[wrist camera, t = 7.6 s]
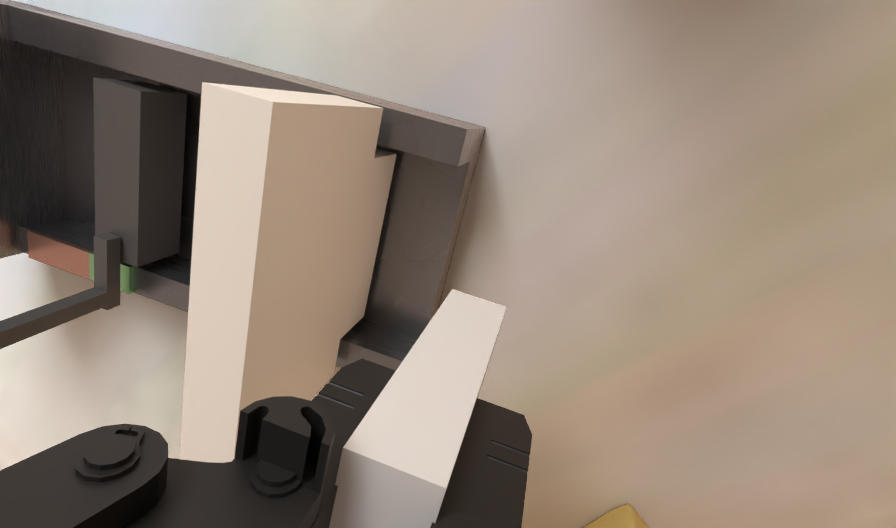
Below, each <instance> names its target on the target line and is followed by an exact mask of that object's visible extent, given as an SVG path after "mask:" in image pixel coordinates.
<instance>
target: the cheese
mask: <svg viewBox="0 0 896 528" xmlns="http://www.w3.org/2000/svg"><path fill="white" fill-rule="evenodd" d="M584 528H648V527H647V525H646V524H645V523H644V521H643V520H642V519H641V517H640V516H639V515H638V513H637V512H636V511H635V510H634V509H633V507H632V506H631V505H629V504H625V505H622V506H620V507H617V508H615V509H613V510H611V511H610V512H608V513H606V514H605V515H603V516H601V517H600V518H598V519H596V520H595V521H593V522H592V523H590V524H589V525H587V526H586V527H584Z"/></svg>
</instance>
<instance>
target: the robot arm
mask: <svg viewBox="0 0 896 528" xmlns="http://www.w3.org/2000/svg"><path fill="white" fill-rule="evenodd" d="M506 308H507V307H506V306H503V305H500V304H496V303H493V302H490V301H487V300H484V299H481V298H478V297H475V296H472V295H469V294H466V293H463V292H460V291H457V290H454V289H452V290H451V292H450V293H449V295H448V296H447V297H446V299H445V300H444V302H443V303H442V305H441V306H440V308H439V309H438V310H437V312H436V313H435V315H434V316H433V318H432V319H431V321H430V322H429V324H428V325H427V326H426V328H425V329H424V331H423V332H422V334H421V335H420V337H419V338H418V340H417V341H416V342H415V344H414V345H413V347H412V348H411V350H410V351H409V353H408V354H407V356H406V357H405V358H404V360H403V361H402V363H401V364H400V366H399V367H398V369H397V370H393V369H390V368H387V367H385V366H382V365H379V364H376V363H374V362H371V361H368V360H365V359H363V358H362V359H360V360H357V361H355V362H353V363H350V364H348V365H346V366H344V367H342V368H341V369H340V370H339V371H338V372H337V374H336V375H335V376H334V377H333V378H332V379H331V380H330V382H329V384H326V386H325V387H324V388H323V389H322V390H321V391H320V392H319V394H318V396H315V398H314V399H313V400H312V401H310V400H306V399H301V398H297V397H293V396H278V397H270V398H266V399H262V400H258V401H255V402H253V403H252V404H250V405H248V406H247V407H245V408H243V409H242V410H240V417H239V425H238V434H237V442H236V451H235V458H234V459H233V460H232V461H231V462H225V463H214V462H200V461H191V460H182V459H172V458H168V443H167V442H166V441H165V439H164V438H163V437H162V435H161V434H160V433H159V432H156V431H154V430H152V429H150V428H148V427H146V426H139V425H131V424H120V425H111V426H103V427H100V428H97V429H94V430H91V431H88V432H85V433H82V434H79V435H77V436H75V437H73V438H71V439H68V440H66V441H64V442H62V443H60V444H58V445H55V446H53V447H51V448H49V449H47V450H44V451H42V452H40V453H38V454H36V455H33V456H31V457H29V458H27V459H25V460H23V461H20V462H18V463H16V464H14V465H12V466H9V467H7V468H5V469H3V470H1V471H0V528H521V524H522V516H523V507H524V499H525V490H526V482H527V471H528V465H529V455H530V448H531V440H532V433H531V431H530V429H529V426H528V424H527V421H526V419H525V417H524V415H522V414H519V413H516V412H514V411H511V410H508V409H505V408H503V407H500V406H497V405H494V404H492V403H489V402H486V401H483V400H481V399H478V395H479V392H480V389H481V386H482V383H483V379H484V376H485V373H486V370H487V367H488V364H489V361H490V358H491V355H492V351H493V348H494V345H495V342H496V339H497V336H498V333H499V330H500V326H501V323H502V320H503V317H504V314H505V311H506Z"/></svg>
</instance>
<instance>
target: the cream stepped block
mask: <svg viewBox="0 0 896 528" xmlns="http://www.w3.org/2000/svg"><path fill="white" fill-rule="evenodd" d="M382 113H383V108H381V107H377V106H374V105H370V104H366V103H363V102H359V101H355V100H352V99H348V98H344V97H341V96H337V95H327V94H316V93H306V92H296V91H286V90H276V89H266V88H256V87H245V86H235V85H225V84H215V83H205V82H202V94H201V110H200V127H199V143H198V160H197V176H196V192H195V209H194V225H193V242H192V258H191V274H190V291H189V307H188V324H187V340H186V357H185V373H184V389H183V406H182V422H181V439H180V455H179V459H182V460H191V461H200V462H214V463H225V462H231V461H232V460H233V459H234V458H235V451H236V442H237V434H238V425H239V417H240V410H242V409H243V408H245V407H247V406H248V405H250V404H252V403H253V402H255V401H258V400H262V399H266V398H270V397H278V396H293V397H297V398H301V399H306V400H311V399H312V398H313V397H314V396H315V395H316V394H317V393H318V391H319V390H320V389H321V388H322V387H323V386H324V385H325V384H326V383H327V382H328V381H329V379H330V378H331V377H332V376H333V375H334V370H335V365H336V360H337V354H338V349H339V343H340V339H341V338H342V337H343V336H344V335H345V334H346V333H347V332H348V331H349V330H350V329H351V328H352V327H353V326H354V325H355V324H356V323H358V322H359V321H360V320H361V319H362V318H363V317H364V314H365V309H366V304H367V299H368V294H369V289H370V284H371V279H372V274H373V269H374V264H375V259H376V254H377V249H378V244H379V239H380V234H381V229H382V224H383V220H384V215H385V210H386V205H387V200H388V195H389V190H390V185H391V180H392V175H393V170H394V165H395V160H396V155H397V154H395V153H392V152H388V151H385V150H381V149H378V148H376V145H377V140H378V134H379V129H380V124H381V118H382Z"/></svg>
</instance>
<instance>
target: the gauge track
mask: <svg viewBox="0 0 896 528" xmlns="http://www.w3.org/2000/svg"><path fill="white" fill-rule="evenodd" d="M93 77H94V78H106V79H117V80H129V81H141V82H147V83H150V84H154V85H157V86H161V87H164V88H168V89H171V90H175V91H178V92H182V93H185V94H187V107H186V127H185V147H184V166H183V186H182V205H181V225H180V244H179V253H177V254H174V255H171V256H168V257H166V258H163V259H160V260H157V261H154V262H151V263H148V264H145V265H142V266H139V267H135V266H132V265H130V264H127V263H124V262H121V261H120V291H122V292H125V293H128V294H131V293H133V292H135V293H137V294H140V295H143V296H146V297H148V298H151V299H154V300H157V301H159V302H162V303H165V304H168V305H170V306H173V307H176V308H179V309H181V310H184V311H187V312H188V307H189V291H190V274H191V258H192V242H193V225H194V209H195V192H196V176H197V160H198V143H199V127H200V110H201V94H202V82H205V83H215V84H225V85H235V86H245V87H256V88H266V89H276V90H286V91H296V92H306V93H316V94H327V95H337V96H341V97H344V98H348V99H352V100H355V101H359V102H363V103H366V104H370V105H374V106H377V107H381V108H383V113H382V118H381V124H380V129H379V134H378V140H377V145H376V148H378V149H381V150H385V151H388V152H392V153H395V154H397V155H396V160H395V165H394V170H393V175H392V180H391V185H390V190H389V195H388V200H387V205H386V210H385V215H384V220H383V224H382V229H381V234H380V239H379V244H378V249H377V254H376V259H375V264H374V269H373V274H372V279H371V284H370V289H369V294H368V299H367V304H366V309H365V314H364V317H363V318H362V319H361V320H360V321H359V322H358V323H356V324H355V325H354V326H353V327H352V328H351V329H350V330H349V331H348V332H347V333H346V334H345V335H344V336H343V337H342V338H341V339H340V343H339V349H338V354H337V360H336V365H335V366H338V367H341V368H342V367H344V366H346V365H348V364H350V363H353V362H355V361H357V360H360V359H362V358H363V359H365V360H368V361H371V362H374V363H376V364H379V365H382V366H385V367H387V368H390V369H393V370H397V369H398V367H399V366H400V364H401V363H402V361H403V360H404V358H405V357H406V356H407V354H408V353H409V351H410V350H411V348H412V347H413V345H414V344H415V342H416V341H417V340H418V338H419V337H420V335H421V334H422V332H423V331H424V329H425V328H426V326H427V325H428V324H429V322H430V321H431V319H432V318H433V316H434V315H435V313H436V312H437V310H438V307H439V304H440V300H441V296H442V292H443V288H444V284H445V281H446V277H447V273H448V269H449V265H450V261H451V257H452V254H453V250H454V246H455V242H456V238H457V234H458V231H459V227H460V223H461V219H462V215H463V211H464V208H465V204H466V200H467V196H468V192H469V188H470V184H471V181H472V177H473V173H474V169H475V165H476V161H477V158H478V154H479V150H480V146H481V142H482V138H483V134H484V131H485V127H482V126H478V125H474V124H471V123H467V122H463V121H459V120H456V119H452V118H448V117H445V116H441V115H437V114H433V113H430V112H426V111H422V110H418V109H415V108H411V107H407V106H404V105H400V104H396V103H392V102H389V101H385V100H381V99H378V98H374V97H370V96H366V95H363V94H359V93H355V92H351V91H348V90H344V89H340V88H337V87H333V86H329V85H325V84H322V83H318V82H314V81H311V80H307V79H303V78H299V77H296V76H292V75H288V74H284V73H281V72H277V71H273V70H270V69H266V68H262V67H258V66H255V65H251V64H247V63H244V62H240V61H236V60H232V59H229V58H225V57H221V56H217V55H214V54H210V53H206V52H203V51H199V50H195V49H191V48H188V47H184V46H180V45H177V44H173V43H169V42H165V41H162V40H158V39H154V38H150V37H147V36H143V35H139V34H136V33H132V32H128V31H124V30H121V29H117V28H113V27H110V26H106V25H102V24H98V23H95V22H91V21H87V20H84V19H80V18H76V17H72V16H69V15H65V14H61V13H57V12H54V11H50V10H46V9H43V8H39V7H35V6H31V5H28V4H24V3H20V2H15V1H11V0H0V258H4V257H8V256H12V255H16V254H20V253H27V254H29V258H32V259H34V260H37V261H40V262H43V263H45V264H48V265H51V266H54V267H56V268H59V269H62V270H65V271H67V272H70V273H73V274H76V275H78V276H81V277H84V278H87V279H89V280H92V281H94V236H95V173H94V94H93Z"/></svg>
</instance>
